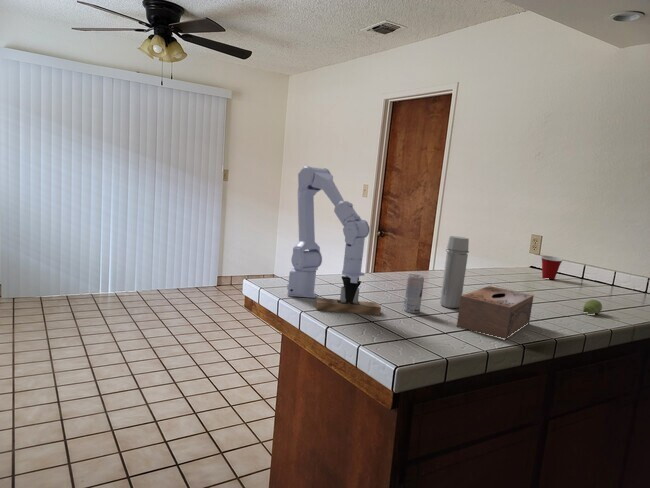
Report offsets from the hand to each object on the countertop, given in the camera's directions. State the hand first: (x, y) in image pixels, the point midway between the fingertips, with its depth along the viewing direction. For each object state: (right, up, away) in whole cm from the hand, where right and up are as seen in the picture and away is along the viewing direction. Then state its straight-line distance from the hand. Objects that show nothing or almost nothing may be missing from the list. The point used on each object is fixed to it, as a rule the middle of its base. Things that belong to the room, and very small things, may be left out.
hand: (348, 300), depth 143 cm
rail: (0, -3, 0) cm, 3 cm away
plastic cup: (+113, -1, +100) cm, 150 cm away
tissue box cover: (+46, -8, 0) cm, 47 cm away
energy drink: (+21, -5, +7) cm, 23 cm away
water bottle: (+37, -5, +18) cm, 41 cm away
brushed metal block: (0, -2, 0) cm, 2 cm away
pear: (+94, -9, +29) cm, 99 cm away
